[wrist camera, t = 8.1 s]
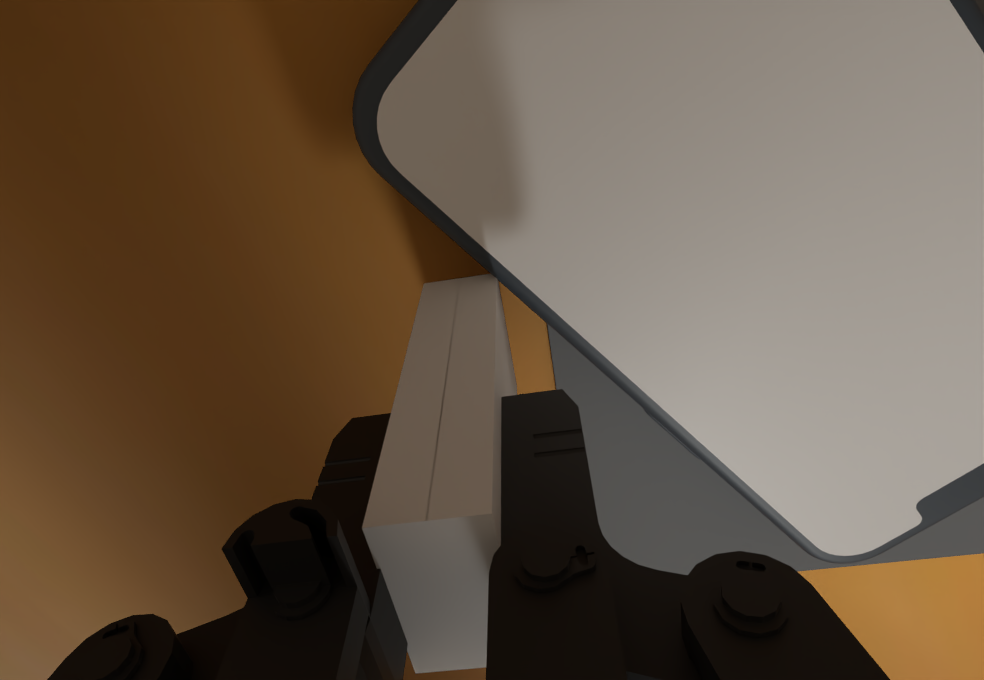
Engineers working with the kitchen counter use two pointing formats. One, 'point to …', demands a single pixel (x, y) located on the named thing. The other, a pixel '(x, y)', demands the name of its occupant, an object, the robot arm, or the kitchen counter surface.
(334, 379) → the kitchen counter surface
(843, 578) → the kitchen counter surface
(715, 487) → the charging mat
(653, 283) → the phone case
